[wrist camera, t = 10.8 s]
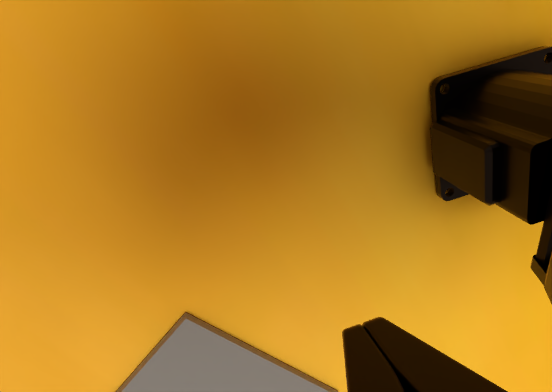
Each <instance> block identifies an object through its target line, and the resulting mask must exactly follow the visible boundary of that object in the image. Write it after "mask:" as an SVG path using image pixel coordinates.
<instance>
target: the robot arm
mask: <svg viewBox="0 0 552 392" xmlns="http://www.w3.org/2000/svg"><path fill="white" fill-rule="evenodd" d="M545 55H547V56H546V59H545V61H544V57H545ZM443 84H444V85H445V88H444V90H443V92H441V93H440V87H441V86H442V85H443ZM430 94H431V110H432V126H431V129H430V130H431V145H432V161H433V172H434V173H435V174H436V190H437V195H438V196H439V197H440V198H441V199H443V200H445V201H450V200H453V199H456V198H459V197H462V196H465V195H468V194H470V195H472V196H473V197H475V198H477V199H478V200H480V201H482V202H483V203H485V204H487V205H493V204H496V205H498V206H499V207H501V208H503V209H504V210H506V211H508V212H510V213H511V214H513V215H515V216H516V217H518V218H520V219H522V220H523V221H525V222H527V223H528V224H535V223H538V222H541V221H544V223H543V228H542V232H541V236H540V241H539V245H538V249H537V254H536V255H534V256H533V259H532V263H531V269H532V270H533V272H534V273H535V274H536V276H537V277H538V278H539V280H540V281H541V282H542V284H543V285H544V288H545V291H546V293H547V295H548V297H549V299H550V301H551V304H552V47H540V48H537V49H533V50H530V51H526V52H523V53H520V54H516V55H513V56H509V57H506V58H503V59H499V60H496V61H492V62H489V63H486V64H482V65H479V66H475V67H472V68H469V69H465V70H462V71H458V72H455V73H452V74H448V75H445V76H441V77H439V78H437V79H435V80H434V81H433V83H432V85H431V89H430ZM448 188H449V191H448V192H447V193H446V194H445V192H446V190H447V189H448ZM342 336H343V347H344V358H345V368H346V379H347V390H348V392H507V391H506V390H504V389H502V388H501V387H499V386H497V385H496V384H494V383H492V382H490V381H489V380H487V379H485V378H484V377H482V376H480V375H479V374H477V373H475V372H474V371H472V370H470V369H469V368H467V367H465V366H464V365H462V364H460V363H459V362H457V361H455V360H453V359H452V358H450V357H448V356H447V355H445V354H443V353H442V352H440V351H438V350H437V349H435V348H433V347H432V346H430V345H428V344H427V343H425V342H423V341H421V340H420V339H418V338H416V337H415V336H413V335H411V334H410V333H408V332H406V331H405V330H403V329H401V328H400V327H398V326H396V325H395V324H393V323H391V322H390V321H388V320H386V319H384V318H382V317H377V318H375V319H372V320H369V321H366V322H364V323H363V324H362V325H360V324H358V325H355V326H352V327H349V328H347V329H344V330H343V332H342Z"/></svg>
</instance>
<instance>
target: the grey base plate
mask: <svg viewBox="0 0 552 392" xmlns="http://www.w3.org/2000/svg"><path fill="white" fill-rule="evenodd" d="M116 392H338V391H337V390H335V389H333V388H331V387H329V386H327V385H325V384H323V383H321V382H319V381H317V380H316V379H314V378H312V377H310V376H308V375H306V374H304V373H302V372H300V371H298V370H296V369H294V368H292V367H290V366H288V365H287V364H285V363H283V362H281V361H279V360H277V359H275V358H273V357H271V356H269V355H267V354H265V353H263V352H261V351H259V350H258V349H256V348H254V347H252V346H250V345H248V344H246V343H244V342H242V341H240V340H238V339H236V338H234V337H232V336H231V335H229V334H227V333H225V332H223V331H221V330H219V329H217V328H215V327H213V326H211V325H209V324H207V323H205V322H203V321H202V320H200V319H198V318H196V317H194V316H192V315H190V314H188V313H186V312H185V314H184V315H183V316H182V317H181V318H180V319H179V320H178V322H177V323H176V324H175V325H174V326H173V327H172V328H171V330H170V331H169V332H168V333H167V334H166V335H165V336H164V338H163V339H162V340H161V341H160V342H159V343H158V344H157V346H156V347H155V348H154V349H153V350H152V351H151V352H150V353H149V355H148V356H147V357H146V358H145V359H144V360H143V361H142V363H141V364H140V365H139V366H138V367H137V368H136V369H135V371H134V372H133V373H132V374H131V375H130V376H129V377H128V379H127V380H126V381H125V382H124V383H123V384H122V385H121V387H120V388H119V389H118V390H117V391H116Z"/></svg>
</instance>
